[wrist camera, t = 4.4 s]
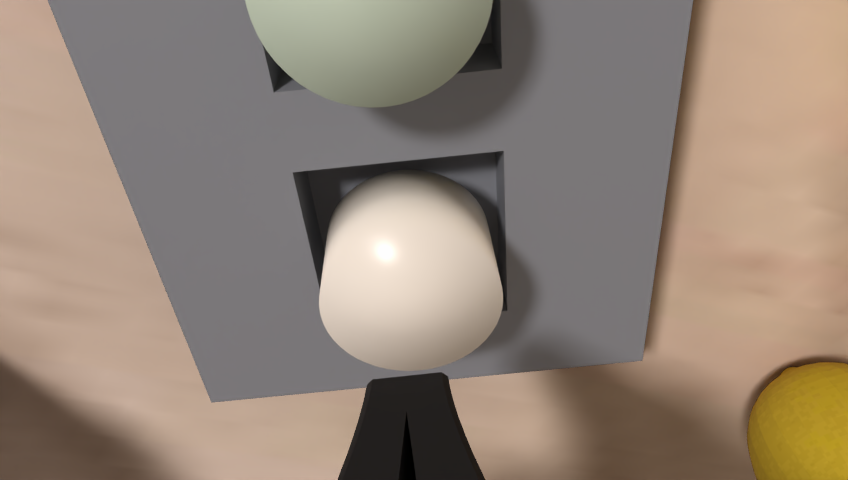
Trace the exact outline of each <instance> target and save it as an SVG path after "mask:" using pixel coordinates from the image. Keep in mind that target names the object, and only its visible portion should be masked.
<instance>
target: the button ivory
mask: <svg viewBox="0 0 848 480" xmlns="http://www.w3.org/2000/svg"><path fill="white" fill-rule="evenodd" d="M502 307H503V291H502V285H501V281H500V276H499V272H498V267H497V263H496V258H495V254H494V249H493V245H492V241H491V236H490V232H489V227H488V223H487V220H486V216H485V214H484V212H483V209H482V207H481V206H480V204H479V203H478V201H477V200H476V199H475V198H474V196H473V195H472V194H471V193H470V192H469V191H468V190H466V189H465V188H464V187H463V186H461V185H460V184H458V183H457V182H455V181H453V180H451V179H449V178H447V177H445V176H442V175H439V174H436V173H432V172H427V171H421V170H398V171H392V172H387V173H383V174H380V175H377V176H374V177H372V178H370V179H367V180H366V181H364V182H362V183H360V184H358V185H357V186H356V187H354V188H353V189H352V190H350V191H349V192H348V193H347V194H346V195H345V196H344V197H343V198H342V200H341V201H340V202H339V204H338V205H337V207H336V208H335V210H334V212H333V214H332V217H331V219H330V222H329V227H328V232H327V240H326V248H325V256H324V263H323V271H322V279H321V287H320V294H319V309H320V315H321V318H322V321H323V324H324V326H325V328H326V330H327V332H328V333H329V335H330V336H331V337H332V339H333V340H334V341H335V342H336V343H337V344H338V345H339V346H340V347H341V348H342V349H343V350H345V351H346V352H347V353H349V354H350V355H352V356H353V357H355V358H357V359H359V360H361V361H363V362H365V363H368V364H371V365H374V366H377V367H381V368H385V369H391V370H400V371H417V370H426V369H432V368H436V367H440V366H444V365H447V364H449V363H452V362H454V361H457V360H459V359H461V358H463V357H465V356H466V355H468V354H470V353H471V352H472V351H474V350H475V349H476V348H478V347H479V346H480V345H481V344H482V343H483V342H484V341H485V340H486V339H487V338H488V337H489V335H490V334H491V333H492V332H493V330H494V328H495V326H496V325H497V323H498V320H499V318H500V315H501V311H502Z"/></svg>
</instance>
